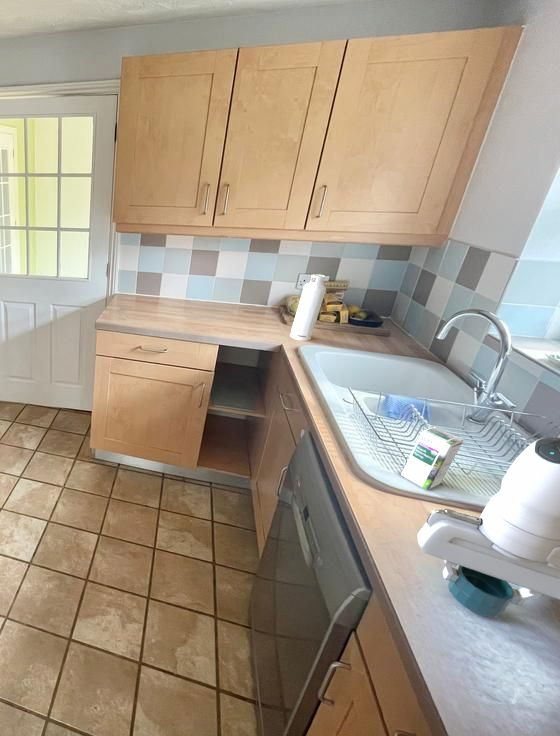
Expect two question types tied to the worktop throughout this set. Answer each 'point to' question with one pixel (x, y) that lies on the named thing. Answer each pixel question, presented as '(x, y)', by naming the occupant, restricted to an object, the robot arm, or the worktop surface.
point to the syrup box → (431, 457)
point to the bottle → (308, 308)
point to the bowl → (481, 592)
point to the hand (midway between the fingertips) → (480, 589)
